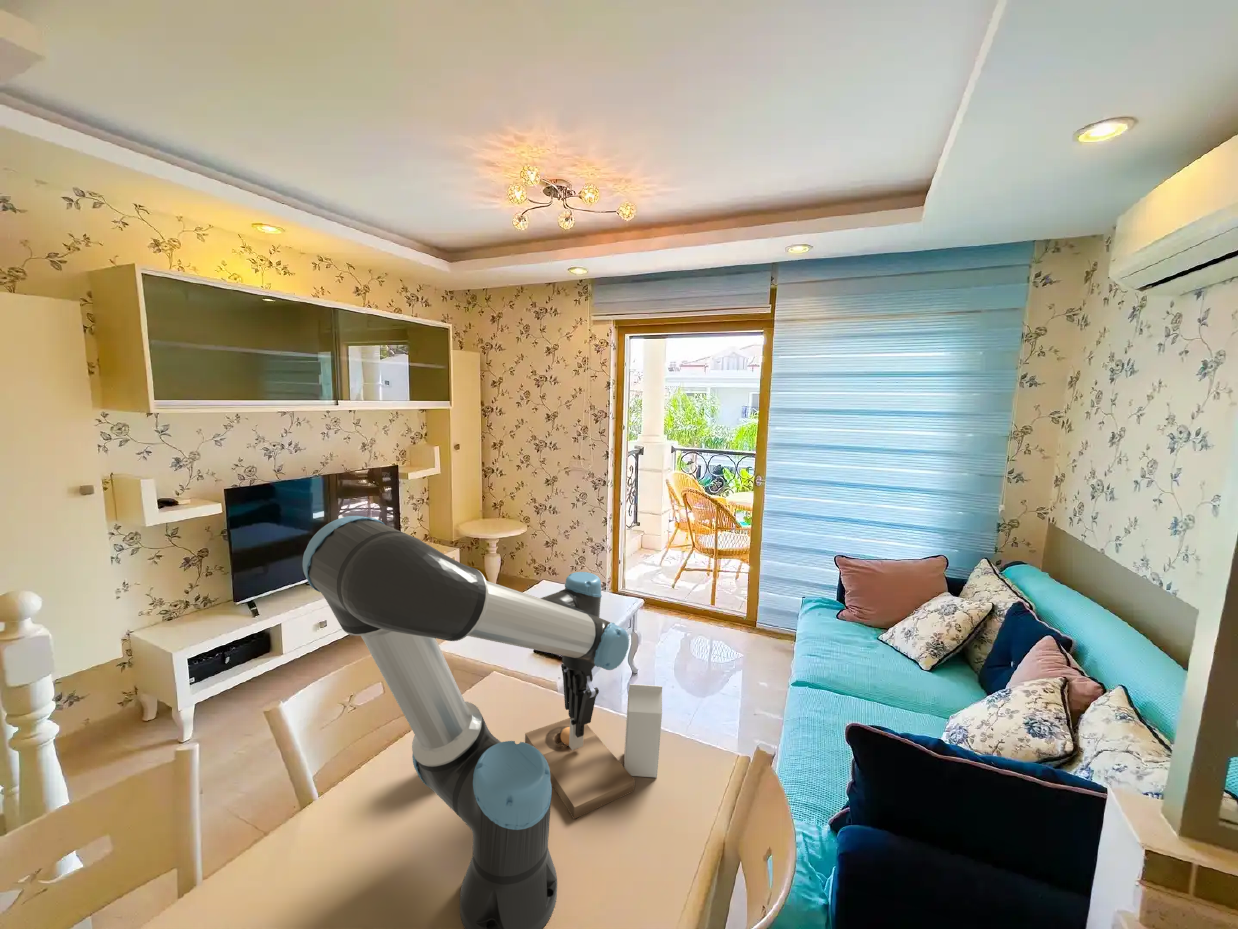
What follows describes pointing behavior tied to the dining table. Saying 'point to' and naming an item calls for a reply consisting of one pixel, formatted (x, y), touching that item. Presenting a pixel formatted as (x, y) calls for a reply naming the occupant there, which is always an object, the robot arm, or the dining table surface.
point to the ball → (565, 735)
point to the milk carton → (643, 730)
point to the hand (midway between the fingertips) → (576, 746)
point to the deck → (581, 769)
